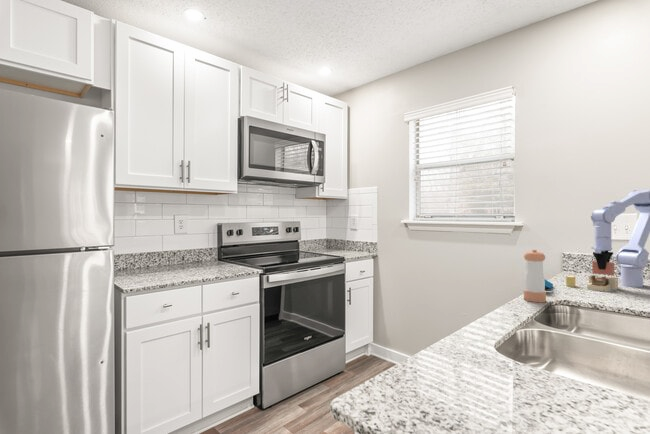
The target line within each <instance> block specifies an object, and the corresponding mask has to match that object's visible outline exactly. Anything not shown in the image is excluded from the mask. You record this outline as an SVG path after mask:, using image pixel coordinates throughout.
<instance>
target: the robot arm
mask: <svg viewBox="0 0 650 434" xmlns="http://www.w3.org/2000/svg"><path fill="white" fill-rule="evenodd" d="M630 206H633V207H634V208H635V210H636V211H638V212H639V215H638V218H637V221H636V223H635V226H634V229H633V230H632V231H633V232H632V234H631V236H630V239H629V241H628V243H627V244H625V245H624V246H621V247H620V249H619V251H618V252H617V253H616V254H615V258H614V259H615V262H616V264H617V265H618V266H619V267H620V286H622V287H628V288H643V286H644V271H643V269H645V267H646V266H647V264H648V262H649V254H650V253H649V251H648V250H647V249H646V248H645V245H646V243H647V241H648V238H649V236H650V189H642V190H636V189H635V190H633V191H631V192H629V193H628V195H626V196H625V197H624V198H623V199H621V200H620V201H619V200H618V201H617V200H612V201H610V202H609V204H607V205H605V206H602V208H601V209H595V210H593V212H591V216H590V219H591V221H592V226H593V227H594V246H591V250H592V249H593V250H594V252H592V255H593V256H594V258H595V261H597V264H598V268H599V269H603V270H605V269H606V264H607V262H610V261H611V258H612V256H613V255H614V251H613V252H612V250H613V246H612V240H613V239H612V223H614V222H615V220H616V218H617V217H618V216H620V215H622V214H623V213H624V212H626V209H627V208H628V207H630Z"/></svg>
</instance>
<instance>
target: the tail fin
mask: <svg viewBox="0 0 650 434" xmlns="http://www.w3.org/2000/svg"><path fill="white" fill-rule="evenodd" d="M565 279H566V280H565V282H566V283H565V284H566V285H565V286H566V287H569V288H571V287H572V288H575V287H576V276H574V275H568V276H566V278H565Z"/></svg>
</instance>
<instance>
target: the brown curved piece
mask: <svg viewBox="0 0 650 434" xmlns="http://www.w3.org/2000/svg"><path fill="white" fill-rule="evenodd" d="M592 275H593V276H592ZM592 275H590V276H591V280H592V285H597V286H606V285H609V282H608V278H610V277H607V276H605V275H604V276H598V278H596V279H595V274H592Z"/></svg>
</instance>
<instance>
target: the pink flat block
mask: <svg viewBox="0 0 650 434" xmlns="http://www.w3.org/2000/svg"><path fill="white" fill-rule="evenodd" d="M592 274H596V275H597V274H599V275H607V276H614V275H615V262H610V261H609V262H607V264H606V269H605V270H603V269H599V268H598V264H597V261H596V260H595V261H594V260H593V261H592Z"/></svg>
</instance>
